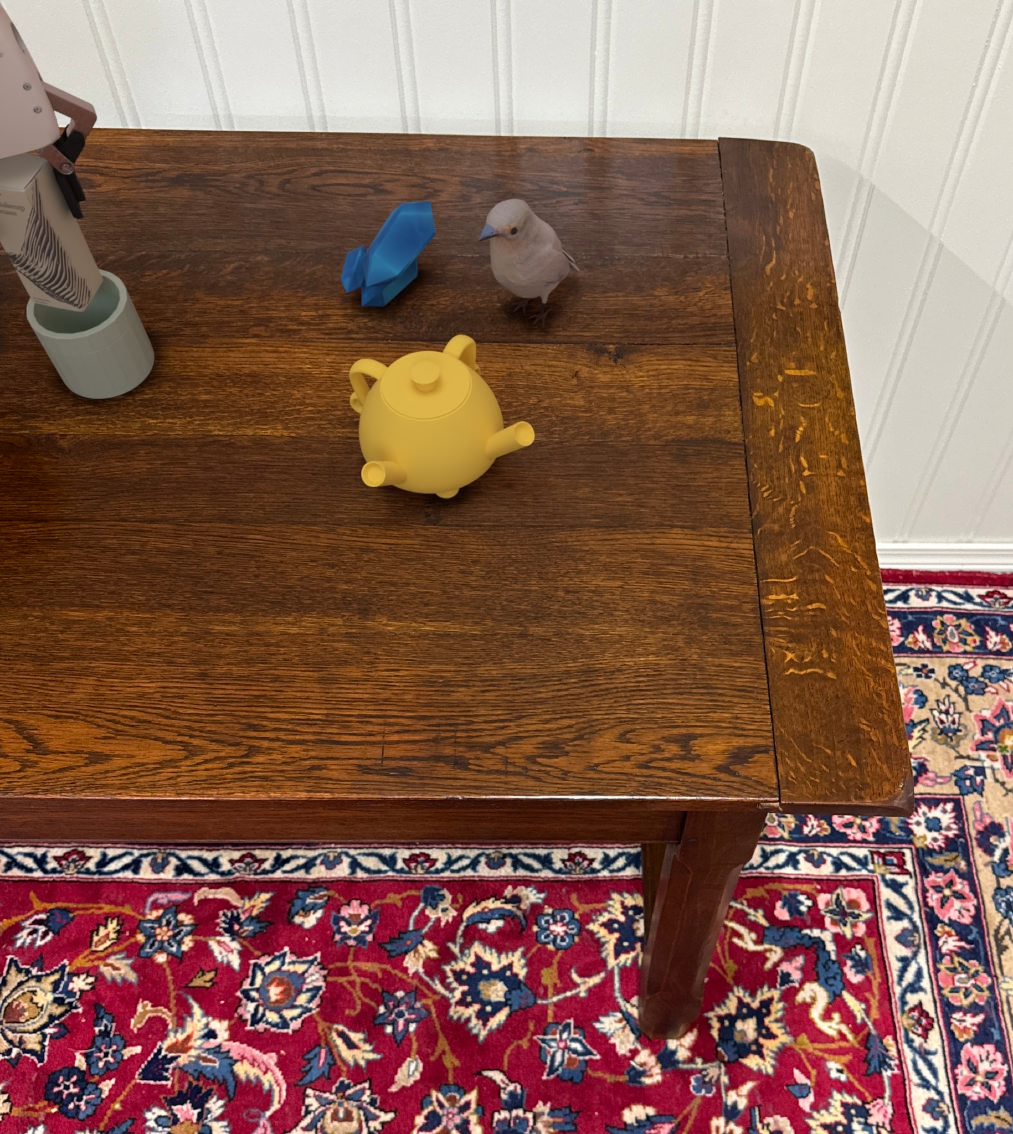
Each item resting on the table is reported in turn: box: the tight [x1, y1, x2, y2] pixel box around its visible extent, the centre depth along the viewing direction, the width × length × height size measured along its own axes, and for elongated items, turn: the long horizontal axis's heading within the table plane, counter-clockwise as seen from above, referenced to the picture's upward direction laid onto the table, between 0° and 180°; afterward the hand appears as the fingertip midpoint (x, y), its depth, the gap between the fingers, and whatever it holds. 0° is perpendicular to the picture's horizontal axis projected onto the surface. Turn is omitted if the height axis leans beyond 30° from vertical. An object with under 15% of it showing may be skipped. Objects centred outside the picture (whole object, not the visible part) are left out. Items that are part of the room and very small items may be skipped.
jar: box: [26, 268, 155, 400], centre depth 92 cm, size 9×9×8 cm
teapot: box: [348, 334, 536, 499], centre depth 84 cm, size 14×14×11 cm
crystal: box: [340, 200, 437, 307], centre depth 97 cm, size 7×9×12 cm
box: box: [0, 152, 103, 312], centre depth 82 cm, size 5×4×13 cm
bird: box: [477, 198, 581, 329], centre depth 92 cm, size 5×14×15 cm, turn 137°
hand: (32, 218), depth 80 cm, fingers closed on box, 6 cm apart
